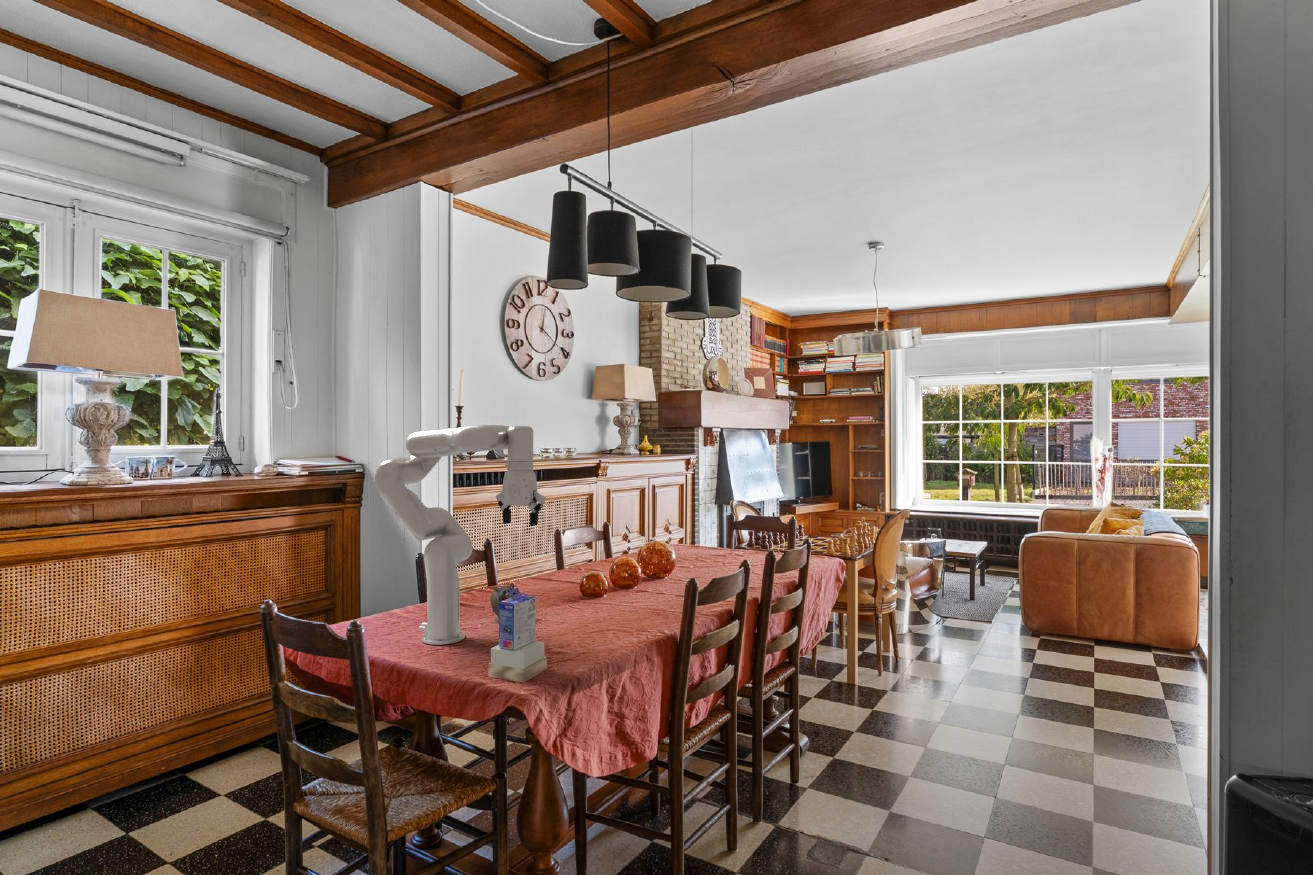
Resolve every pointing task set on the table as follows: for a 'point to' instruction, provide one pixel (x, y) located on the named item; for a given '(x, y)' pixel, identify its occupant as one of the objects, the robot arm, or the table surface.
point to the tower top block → (518, 655)
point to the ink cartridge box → (517, 621)
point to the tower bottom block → (517, 671)
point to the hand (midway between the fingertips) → (520, 524)
